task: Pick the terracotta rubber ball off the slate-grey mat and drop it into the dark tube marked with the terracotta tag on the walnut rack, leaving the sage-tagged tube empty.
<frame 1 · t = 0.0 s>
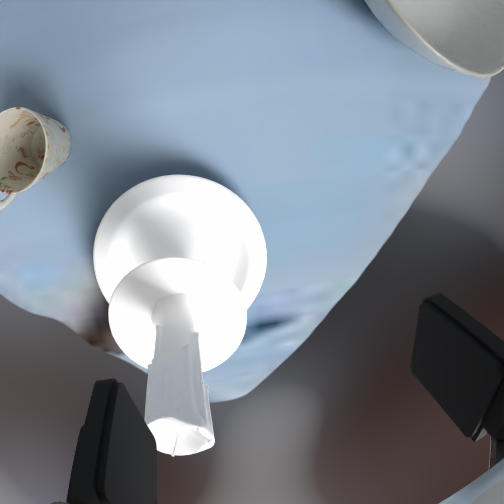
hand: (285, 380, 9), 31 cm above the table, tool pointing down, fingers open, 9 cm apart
mug: (42, 159, 32), on the table
decorative bowl: (399, 1, 32), on the table
candlestick: (177, 270, 40), on the table
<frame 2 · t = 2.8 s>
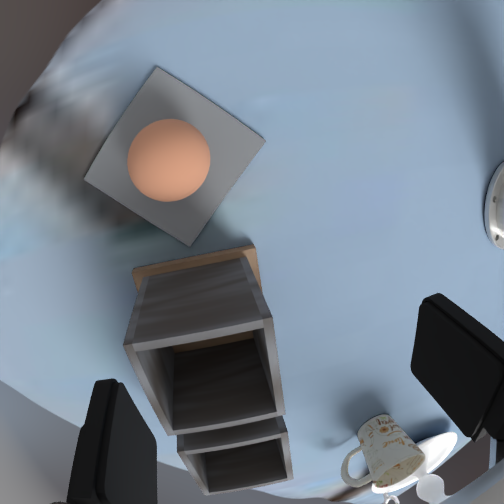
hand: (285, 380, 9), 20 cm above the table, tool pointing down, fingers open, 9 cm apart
mug: (363, 433, 43), on the table
tube rack: (216, 353, 32), on the table
candlestick: (404, 460, 52), on the table
mat: (171, 157, 25), on the table
ball: (168, 160, 22), point 3 cm above the table, touching mat
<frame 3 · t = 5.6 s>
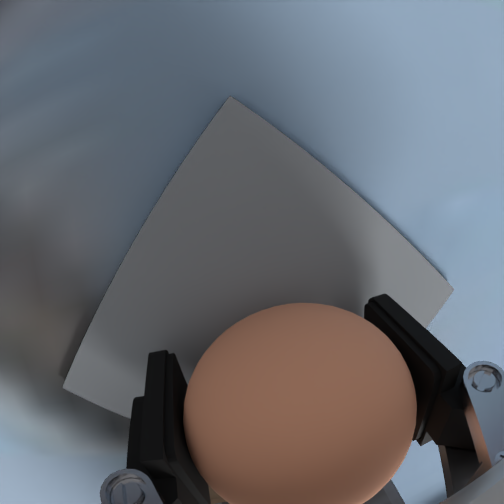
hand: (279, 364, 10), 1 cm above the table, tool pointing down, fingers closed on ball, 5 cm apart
mat: (270, 343, 11), on the table
ball: (300, 415, 8), point 3 cm above the table, touching gripper, mat
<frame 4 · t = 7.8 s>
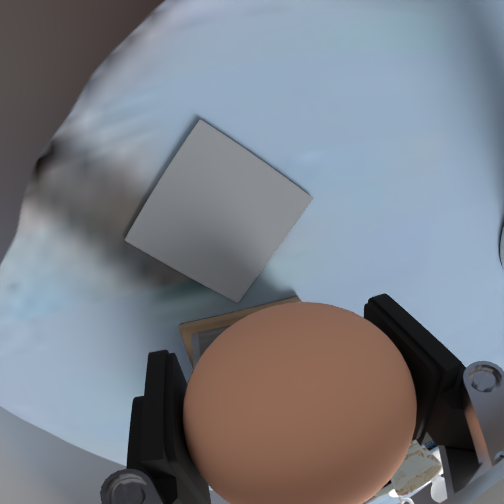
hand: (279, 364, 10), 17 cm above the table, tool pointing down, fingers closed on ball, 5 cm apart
mug: (383, 446, 44), on the table
tube rack: (258, 393, 33), on the table
candlestick: (418, 465, 53), on the table
mat: (219, 216, 26), on the table
ball: (300, 415, 8), point 20 cm above the table, touching gripper
when the fingers open (14 cm above the table, at t = 9.8 s): ball drops 12 cm, resting on tube rack.
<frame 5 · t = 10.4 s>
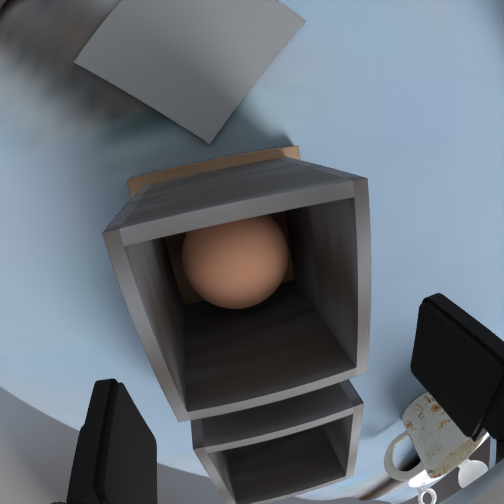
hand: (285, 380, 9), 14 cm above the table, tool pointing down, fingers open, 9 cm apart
mug: (407, 416, 36), on the table
tube rack: (241, 307, 24), on the table
candlestick: (441, 448, 44), on the table
mat: (190, 33, 17), on the table
ball: (235, 255, 18), point 4 cm above the table, touching tube rack
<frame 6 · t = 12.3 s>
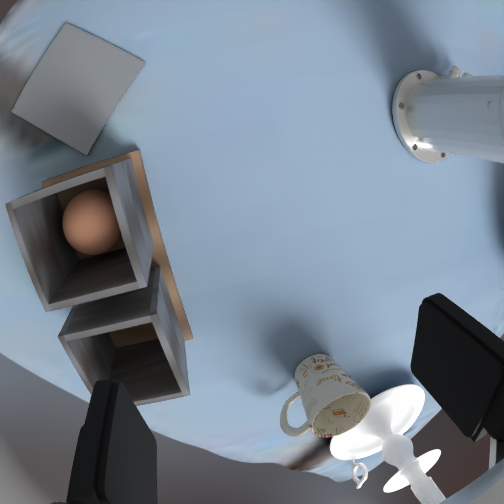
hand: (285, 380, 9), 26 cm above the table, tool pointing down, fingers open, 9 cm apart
mug: (302, 378, 45), on the table
tube rack: (118, 263, 33), on the table
candlestick: (367, 422, 54), on the table
mat: (74, 85, 26), on the table
ball: (92, 222, 27), point 4 cm above the table, touching tube rack
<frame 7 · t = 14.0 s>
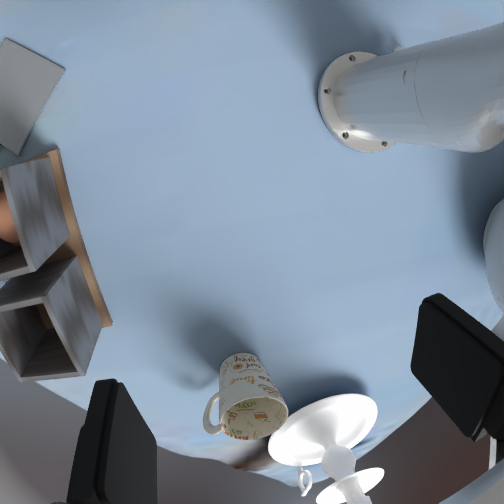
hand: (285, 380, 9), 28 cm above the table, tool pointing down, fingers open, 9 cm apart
mug: (230, 376, 44), on the table
decorative bowl: (500, 231, 46), on the table
tube rack: (45, 251, 33), on the table
candlestick: (314, 428, 53), on the table
mat: (10, 94, 26), on the table
ball: (15, 214, 27), point 4 cm above the table, touching tube rack
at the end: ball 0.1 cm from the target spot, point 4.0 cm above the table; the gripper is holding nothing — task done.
